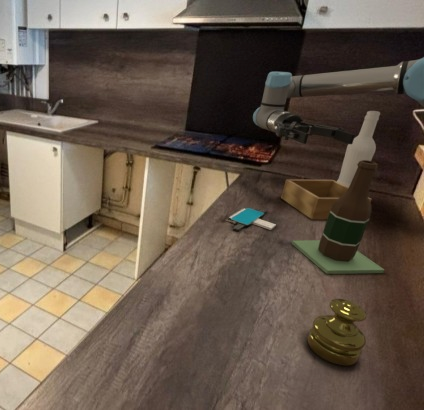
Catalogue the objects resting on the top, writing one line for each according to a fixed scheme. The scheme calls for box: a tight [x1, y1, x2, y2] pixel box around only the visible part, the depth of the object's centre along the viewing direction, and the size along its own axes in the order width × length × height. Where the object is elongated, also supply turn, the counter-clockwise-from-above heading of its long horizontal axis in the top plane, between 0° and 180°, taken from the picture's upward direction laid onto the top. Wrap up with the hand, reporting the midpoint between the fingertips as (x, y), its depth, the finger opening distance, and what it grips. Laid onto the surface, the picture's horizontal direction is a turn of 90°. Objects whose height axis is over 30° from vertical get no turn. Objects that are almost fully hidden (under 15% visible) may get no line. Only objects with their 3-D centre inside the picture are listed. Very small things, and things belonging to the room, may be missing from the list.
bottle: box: [336, 110, 381, 187], centre depth 123 cm, size 8×8×30 cm
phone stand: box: [224, 206, 277, 232], centre depth 107 cm, size 20×12×2 cm, turn 134°
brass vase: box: [307, 298, 368, 366], centre depth 60 cm, size 7×7×10 cm
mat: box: [291, 239, 385, 275], centre depth 90 cm, size 14×14×1 cm
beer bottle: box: [318, 160, 379, 262], centre depth 85 cm, size 8×8×24 cm
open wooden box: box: [280, 178, 373, 220], centre depth 117 cm, size 17×17×7 cm
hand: (329, 139), depth 99 cm, fingers open, 13 cm apart
